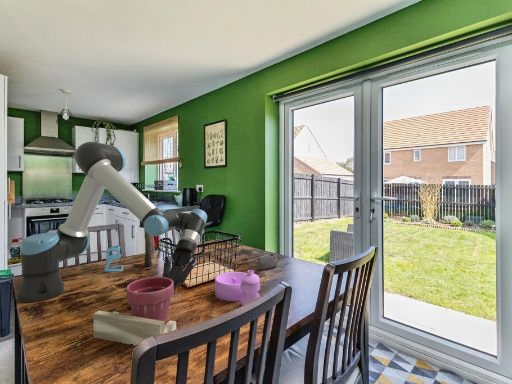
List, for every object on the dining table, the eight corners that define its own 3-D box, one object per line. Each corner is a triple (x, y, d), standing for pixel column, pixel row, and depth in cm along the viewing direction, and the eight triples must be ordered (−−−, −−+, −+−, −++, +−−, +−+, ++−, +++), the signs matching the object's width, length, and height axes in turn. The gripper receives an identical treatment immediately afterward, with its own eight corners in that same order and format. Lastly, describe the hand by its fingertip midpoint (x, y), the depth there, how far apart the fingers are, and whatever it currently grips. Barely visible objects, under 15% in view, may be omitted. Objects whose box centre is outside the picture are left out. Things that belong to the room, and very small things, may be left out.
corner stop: (114, 323, 89) (114, 302, 89) (176, 334, 83) (176, 311, 83) (93, 337, 81) (93, 313, 81) (160, 350, 76) (160, 324, 75)
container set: (209, 290, 117) (209, 259, 117) (241, 283, 125) (242, 254, 124) (235, 315, 96) (236, 277, 95) (273, 306, 103) (273, 270, 103)
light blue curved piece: (105, 268, 143) (104, 245, 143) (123, 266, 147) (122, 243, 146) (103, 273, 136) (103, 248, 136) (122, 271, 140) (122, 247, 139)
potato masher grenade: (150, 269, 143) (150, 210, 142) (135, 267, 145) (135, 210, 144) (159, 264, 151) (159, 209, 150) (145, 263, 153) (145, 208, 152)
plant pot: (120, 321, 90) (120, 282, 90) (163, 309, 99) (163, 273, 99) (135, 341, 79) (135, 297, 79) (181, 325, 89) (181, 285, 88)
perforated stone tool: (260, 272, 141) (260, 258, 140) (253, 269, 145) (253, 256, 144) (280, 266, 151) (281, 253, 150) (273, 264, 155) (274, 251, 154)
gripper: (205, 250, 112) (184, 309, 96) (176, 247, 115) (151, 304, 100) (199, 239, 106) (176, 301, 91) (169, 237, 110) (142, 296, 94)
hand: (163, 303), depth 95 cm, fingers closed
